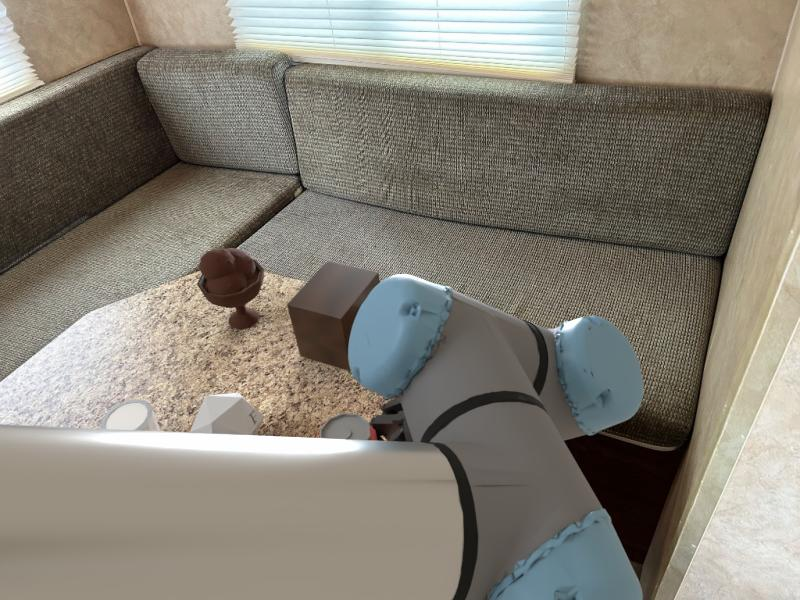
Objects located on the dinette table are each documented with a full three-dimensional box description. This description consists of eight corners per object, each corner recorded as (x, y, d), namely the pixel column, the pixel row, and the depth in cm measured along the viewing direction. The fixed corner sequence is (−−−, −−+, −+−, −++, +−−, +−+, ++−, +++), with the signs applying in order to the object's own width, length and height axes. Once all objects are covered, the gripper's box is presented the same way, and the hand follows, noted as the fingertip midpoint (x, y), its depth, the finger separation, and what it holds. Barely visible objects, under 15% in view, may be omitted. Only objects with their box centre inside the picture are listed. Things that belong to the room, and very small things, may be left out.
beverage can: (323, 491, 69) (304, 423, 62) (374, 468, 71) (362, 400, 64) (341, 535, 65) (324, 468, 57) (395, 510, 67) (386, 442, 59)
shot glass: (149, 475, 83) (130, 443, 78) (108, 464, 85) (88, 432, 80) (178, 435, 88) (162, 403, 83) (139, 426, 90) (122, 394, 85)
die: (227, 484, 81) (258, 431, 78) (170, 450, 81) (198, 395, 77) (252, 449, 89) (281, 399, 86) (200, 418, 89) (227, 366, 85)
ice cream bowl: (256, 345, 101) (233, 273, 92) (200, 333, 105) (173, 263, 95) (286, 305, 109) (268, 235, 99) (233, 295, 112) (211, 227, 103)
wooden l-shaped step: (300, 356, 98) (286, 304, 91) (337, 311, 106) (327, 260, 100) (411, 390, 91) (406, 336, 84) (442, 338, 99) (439, 286, 92)
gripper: (450, 549, 45) (303, 571, 61) (526, 373, 58) (389, 429, 74) (380, 484, 44) (249, 524, 60) (474, 318, 57) (346, 388, 73)
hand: (327, 471), depth 67 cm, fingers closed on beverage can, 6 cm apart
